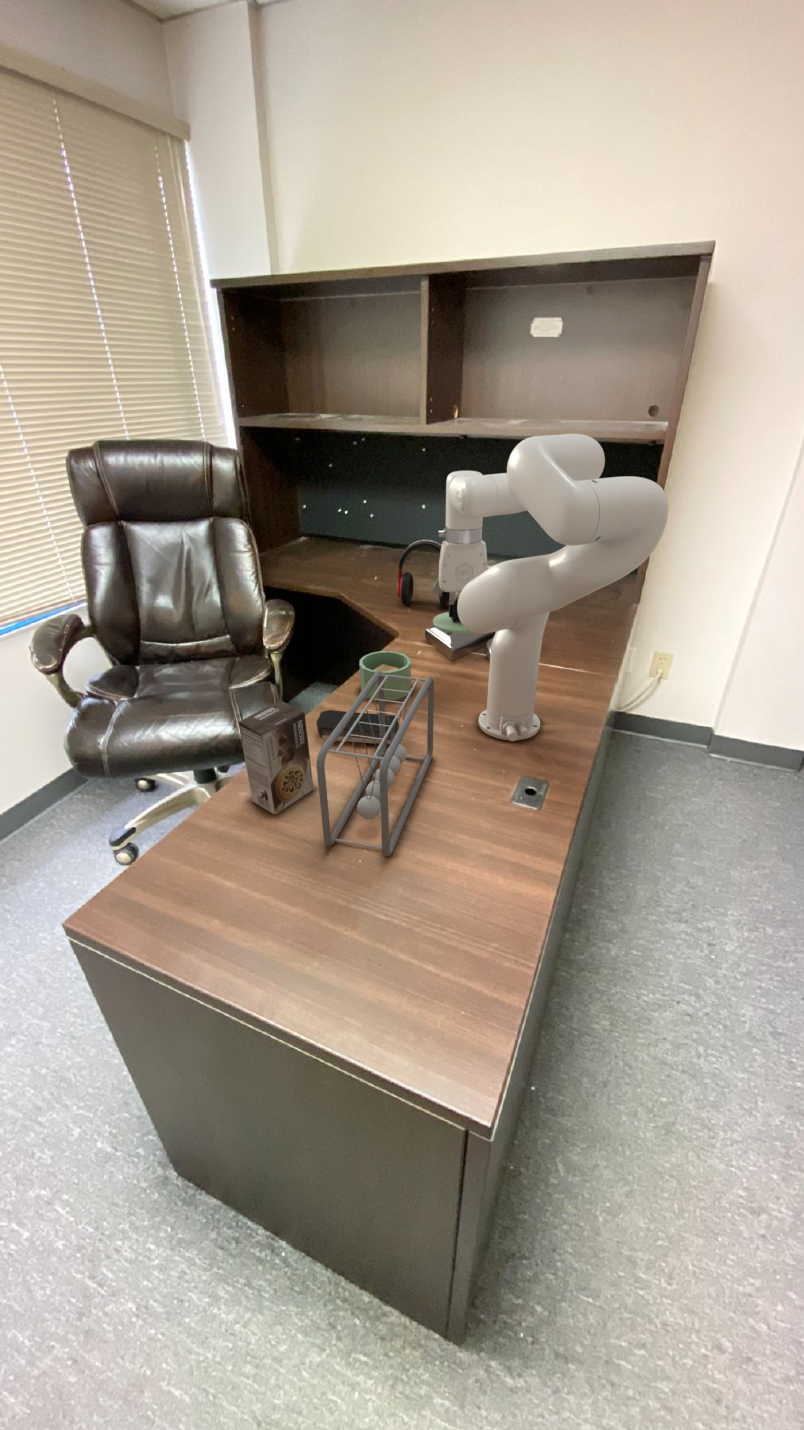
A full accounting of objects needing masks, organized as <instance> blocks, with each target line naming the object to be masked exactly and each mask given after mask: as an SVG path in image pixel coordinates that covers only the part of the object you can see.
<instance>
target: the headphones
mask: <svg viewBox="0 0 804 1430" xmlns="http://www.w3.org/2000/svg"><path fill="white" fill-rule="evenodd" d="M441 546H442V543H441V542H439V541H437V540H435V539H429V538H423V539H418V540H416V541H413V542H412V543H410V544H409V545H408V546H407V547H406V548H405V549H404V550H403V551H402V552H401V554H400V557H399V559H398V562H397V568H398V569H397V583H396V594H397V597H398V598H399V600H400V602H401V603H402V605H405V606H408V605H410V604H411V603H412V600H413V595H414V578H413V574H412V573H411V572H409V571H406V572H404V573H403V568H404V564H405V561H406V558H408V555H409V554H411V552H413V551H415V550H416V549H420V548H431V549H434V550H436V551H438V552H439V553H440V552H441ZM438 600H439V605H440V606H441V607H443V608H447V607H449V603H448V602H447V601H446V600H445V599H444V598H443V597H442V596H440V595H438Z"/></svg>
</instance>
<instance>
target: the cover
mask: <svg viewBox="0 0 804 1430" xmlns="http://www.w3.org/2000/svg"><path fill="white" fill-rule="evenodd" d="M458 599H459V596H457V597H455V602H456V605H457V604H458ZM433 625H434V626H435V627H436V628H438V629H440V630H442V631H446V632H451V633H472V632H470V631H469V630H467V629H466V628H465V627H464V626H463V624H462V623H461V621H460V619H459V616H458V611H457V612H456V622H453V621H452V618H451V617H449V611H447V612H443V613H440V614H438V615H435V616H434V617H433V619H432V626H433Z"/></svg>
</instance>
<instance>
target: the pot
mask: <svg viewBox="0 0 804 1430" xmlns="http://www.w3.org/2000/svg"><path fill="white" fill-rule="evenodd" d="M382 664H385V665H389V666H392V667H396V668H399V669H398V670H393V671H381V672H382V673H383V674H386V675H395V676H404V677H412V662H411V658H410V656H408V655H407V654H406V653H405V654H404V653H402V652H399V651H391V650H379V651H374V652H370V653H368V654H365V655H363V656H362V657H361V658H360V659H359V679H360V681H359V683H360V693H361V692H362V690H363V689H364V687H365V686H366V685H367V683H368V682H369V681H370V679H371V678H372V676H373V675H374V674H375V672H376V671H375V670H374V669H376V668H377V667H379V666H381V665H382ZM384 678H385V677H384ZM377 689H378V680H377V682H376V683H375V685H374V686H373V688H372V689H371V690H370V692H369V693H368V695H367V696H366V698H365V699H366V700H368V699H369V700H370V699H371V698H372V696H373V695H374V693H375V692H376V690H377ZM385 689H389V690H385ZM411 689H412V680H411V679H402V678H393V677H388V678H387V679H386V681H385V682H384V697H385V700H387V701H386V702H391V701H398V700H400V699H403V698H405V697H407V696H408V693H409V692H410V690H411ZM393 690H398V691H393ZM402 691H406V692H402ZM374 699H378V693H377V694H376V696H375V697H374ZM377 701H378V702H379V700H377Z"/></svg>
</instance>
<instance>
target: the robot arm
mask: <svg viewBox="0 0 804 1430" xmlns="http://www.w3.org/2000/svg"><path fill="white" fill-rule="evenodd" d="M605 463H606V457H605V452H604V449H603V447H602V446H601V444H600V443H599V442H598V440H596V439H594V437H591V436H589V435H586V434H582V433H563V434H562V433H561V434H560V433H559V434H549V435H547V434H546V435H533V436H530V437H526V438H525V439H523V440H521V441H520V442H519V443H517V444H516V446H515V447H514V448H513V449H512V451H511V452H510V454H509V457H508V460H507V465H506V472H501V473H492V474H482V472H479V471H477V470H457V471H452V472H450V473H449V474H448V475H447V477H446V482H445V484H446V485H445V526H444V528H443V529H442V530H438V532H437V533H438V538H443V541H442V543H441V544H442V546H441V552H439V561H438V575H437V578H436V581H435V583H434V584H433V587H432V589H431V590H432V593H434V594H435V595H437V596H439V595H440V596H442V597H443V598H444V599H445V600H446V601H447V602H448V603H449V605H448V612H449V617H451V618H452V621H453V622H456V612H457V611H458V616H459V619H460V621H461V623H462V624H463V626H464V627H465V628H466V629H467V630H469V631H470V632H473V633H476V634H485V633H490V632H495V631H496V633H495V636H494V638H493V641H492V645H491V654H490V661H489V670H488V682H487V684H488V685H487V699H486V709H484V710H483V711H481V713H480V714H479V716H478V721H477V722H478V726H479V729H480V730H481V731H482V732H483V733H485V734H486V735H488V736H490V737H492V738H496V739H499V740H502V741H503V740H504V741H510V742H515V741H521V740H527V739H529V738H532V737H534V736H535V735H537V734H538V733H539V731H540V728H541V721H540V718H539V716H538V715H537V714H536V713H535V705H536V697H537V696H536V695H537V689H538V678H539V669H540V659H541V654H542V645H543V638H544V635H545V634H544V632H545V630H546V626H547V622H548V619H549V616H550V613H552V612H555V611H559V610H561V609H562V608H564V607H566V606H568V605H570V604H572V603H574V602H576V601H579V600H581V599H582V598H585V597H586V596H589V595H591V594H593V593H594V592H596V591H598V590H601V589H602V588H605V587H607V586H609V585H611V584H613V583H615V582H617V581H618V580H619V581H620V580H621V579H623V578H625V577H626V576H628V575H630V573H632V572H634V571H635V570H636V569H637V568H638V567H640V566H641V565H643V563H644V562H645V561H646V560H647V559H648V558H649V557H650V556H651V555H652V553H653V552H654V551H655V549H656V547H657V546H658V544H659V542H660V541H661V539H662V537H663V534H664V531H665V529H666V527H667V526H666V525H667V522H668V516H669V501H668V496H667V494H666V492H665V490H664V489H663V487H662V486H661V485H659V484H658V483H657V482H655V481H653V480H651V479H649V478H645V477H640V476H634V475H633V476H632V475H631V476H628V475H627V476H626V475H625V476H612V477H611V476H610V477H602V478H601V476H602V473H603V472H604V470H605V469H604V468H605ZM526 511H527V512H528V513H529V514H530V516H531V517H532V518H533V519H534V520H535V521H536V523H537V524H538V525H539V527H540V528H541V529H543V531H544V532H545V533H546V535H548V536H549V537H550V538H551V539H552V540H554V541H555V542H557V543H558V544H562V545H564V546H563V547H561V548H559V549H558V550H556V551H554V552H551V553H548V554H542V555H541V554H540V555H535V556H528V557H527V556H526V557H521V558H514V559H509V560H508V559H507V560H505V561H502V562H498V563H496V564H494V565H493V566H491V567H489V568H488V553H487V551H488V550H487V543H486V542H485V540H483V522H484V521H483V519H484V518H488V517H496V516H504V515H505V516H506V515H513V514H519V513H524V512H526ZM456 593H460V594H459V596H458V597H459V599H458V604H457V605H456Z"/></svg>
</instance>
